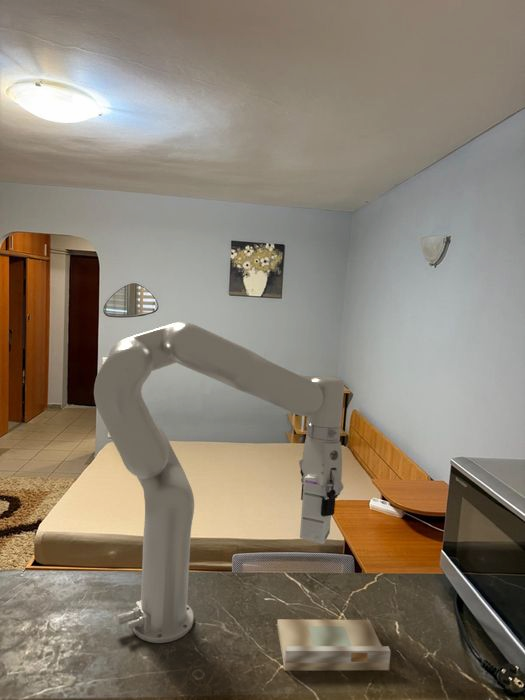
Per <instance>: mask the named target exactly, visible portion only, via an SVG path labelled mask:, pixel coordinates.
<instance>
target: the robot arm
mask: <svg viewBox="0 0 525 700" xmlns="http://www.w3.org/2000/svg"><path fill="white" fill-rule="evenodd" d="M108 353H109V354H108V356H107V358H106V359H105V361H104V362H103V364H102V365H101V367H100V369H99V370H98V373H97V375H96V377H95V382H94V386H93V387H94V388H93V396H94V404H95V406H96V409H97V411H98V414H99V416H100V418H101V419H102V421H103V424H104V426H105V428H106V430H107V432H108V433H109V437H110V438H111V440H112V442H113V444H114V446H115V447H116V450H117V452H118V454H119V455H120V458H121V460H122V463H123V465H124V467H125V468H126V469H127V471H128V472H129V473H131V474H132V475H133V476H135V477H137V480H138V482H139V483H140V485H141V487H142V489H143V497H144V499H143V500H144V523H143V525H144V527H143V538H142V539H143V540H142V541H143V542H142V564H141V565H142V567H141V569H142V570H141V588H140V600H137V601H135V602H136V603H135V607H134V608H131V610H130V611H128V612H123V613H120V614H117V615H116V617H115V621H116V625H117V627H120V626H122V625H126V629H127V630H128V631H129V630H132V631H133V633H134V634H135V635H136V636H137V637H138V638H139V639H141V640H143V641H146V642H149V643H153V644H165V643H170V642H174V641H176V640H179V639H180V638H182V637H184V636H185V635H186V634H188V632H189V631H190V630H191V629H192V627H193V624H194V616H195V615H194V611H193V610H192V608H191V607H190V606H189V604H188V591H189V571H190V555H191V550H190V549H191V537H192V525H193V519H194V513H195V499H194V498H195V497H194V492H193V489H192V486H191V484H190V482H189V479H188V478H187V475H186V473H185V470H184V469H183V467H182V465H181V463H180V461H179V459H178V457H177V455H176V453H175V451H174V449H173V446H172V444H171V443H170V441H169V439H168V437H167V435H166V433H165V431H164V429H162V427H161V426H160V425H159V424H158V423H156V421H154V419H153V417H152V415H151V413H150V411H149V408H148V405H146V402H145V400H144V398H143V395H142V388H143V385H144V383H146V381H147V380H148V379H149V377H150V375H151V373H152V372H153V371H156V370H161V369H162V368H165V367H168V366H171V365H174V364H176V363H177V364H178V365H181V366H183V367H185V368H187V369H190V370H191V371H195V372H196V373H199V374H201V375H204V376H206V377H209V378H211V379H213V380H215V381H217V382H219V383H220V382H221V383H222V384H225V385H227V386H229V387H232V388H233V389H235V390H238V391H239V392H242V393H246V394H248V395H251V396H253V397H256V398H258V399H260V400H263V401H265V402H268V403H270V404H272V405H274V406H276V407H278V408H280V409H283V410H285V411H288V412H290V413H292V414H295V415H297V416H301V417H307V423H306V433H305V434H306V436H305V440H304V445H303V451H302V459H301V460H299V461H298V465H299V468H300V475H301V479H300V481H301V484H302V485H301V492H300V493H301V496H300V500H301V501H302V500H303V487H304V478H305V476H306V475H310V476H312V477H314V478H316V482H317V483H318V484H319V485H321V486H322V490H323V494H324V498H322V505H321V516H323V517H324V516H330V515H331V516H333V515H335V509H336V508H335V507H336V499H337V498H338V496H339V495H340V494H341V492H342V491H343V490H344V484H343V482H342V477H343V475H342V474H343V473H342V472H343V449H342V441H341V440H340V439H341V428H342V427H341V426H342V416H343V406H344V395H345V384H344V381H343V380H342V379H341V378H338V377H334V376H326V375H325V376H323V375H322V376H306V375H302V374H297V373H295V372H293V371H291V370H289V369H287V368H284V367H282V366H281V365H278V364H276V363H274V362H272V361H270V360H268V359H267V358H265V357H263V356H261V355H260V354H258V353H256V352H255V351H252V350H250V349H248V348H246V347H244V346H243V345H239V344H237V343H235V342H233V341H231V340H229V339H227V338H224V337H222V336H220V335H218V334H215V333H214V332H212V331H210V330H207V329H205V328H202V327H200V326H198V325H197V324H194V323H191V322H187V321H177V322H174V323H170V324H168V325H165V326H161V327H159V328H155V329H153V330H149V331H145V332H142V333H139V334H135V335H133V336H130V337H125V338H123V339H121V340H119V341H118V342H116V343H115V344H114V345H113V346H112V347H111V348H110V350H109V352H108ZM327 481H330V484H327ZM327 487H331V491H330V492H328V489H327Z"/></svg>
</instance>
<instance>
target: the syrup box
mask: <svg viewBox="0 0 525 700" xmlns="http://www.w3.org/2000/svg"><path fill="white" fill-rule="evenodd" d="M303 484H304V487H303V500H301V501H302V502H301V514H300V515H301V517H300V518H301V519H300V530H299V531H300V533H299V539H301V540H304V541H308V542H312V543H317V544H321V545H324V544H325V543H326V541H327V539H328V537H329V535H330V531H331V518H332V517H331V516H332V515H330V516H324V517H323V516H321V505H322V498H324V494H323V490H322V486H321V485H319V484H318V483H317V482H316V478H314V477H312V476H310V475H306V476H305V478H304V483H303ZM327 484H330V481H327ZM327 489H328V492H330V491H331V487H327Z"/></svg>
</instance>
